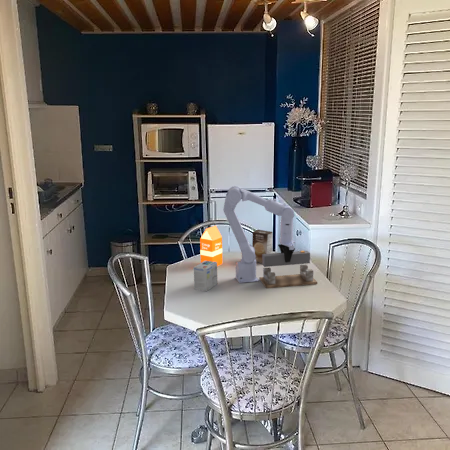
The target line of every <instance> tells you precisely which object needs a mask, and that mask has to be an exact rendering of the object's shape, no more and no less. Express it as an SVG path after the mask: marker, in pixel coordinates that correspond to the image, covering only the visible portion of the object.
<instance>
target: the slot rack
mask: <svg viewBox="0 0 450 450" xmlns="http://www.w3.org/2000/svg"><path fill="white" fill-rule="evenodd" d="M299 266H300V267H299V274H286V275H276V272H275V271H273V272H272V269H271V266H270V267H263V269H262V271H263V274H262V276H260V277H259V278H258V280H259V281H260V282H261V283H262V285H263V286H264V287H265V288H266V289H273V288H285V287H296V286H297V287H298V286H308V285H318V280H316V279H315V278H314V269H311V268H310V269H308V268H309V266H308V264H299Z"/></svg>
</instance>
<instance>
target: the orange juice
mask: <svg viewBox="0 0 450 450" xmlns="http://www.w3.org/2000/svg"><path fill="white" fill-rule="evenodd" d="M199 244H200V245H199V247H200V250H199V252H200V254H199V255H200V263H202V262H203V261H213V262H217V267H219V266H221V265H223V236H222V234H221V232H220V230H219V228H218V227H217V225H214V226H210V227H207V228H205V230H204V232H203V233H202V235H201V237H200V238H199Z"/></svg>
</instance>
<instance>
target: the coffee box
mask: <svg viewBox="0 0 450 450" xmlns="http://www.w3.org/2000/svg"><path fill="white" fill-rule="evenodd" d="M251 246H253V247H254V249H255V255H256V258H255V259H256V263H260V264H262V254H272V253H273V231H269V230H263V229H256V230H254V231H253V232H252V243H251Z"/></svg>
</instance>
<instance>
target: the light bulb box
mask: <svg viewBox="0 0 450 450" xmlns="http://www.w3.org/2000/svg"><path fill="white" fill-rule="evenodd" d="M193 283H194V284H193V285H194V286H193V287H194V288H193V289H194V290H195V291H203V292H208V291H209V290H211V289H213V288H214V287H215V286H217V285H218V266H217V262H213V261H203V262H202V263H201V262H200V263H198V264H197V265H195V266H193Z"/></svg>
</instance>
